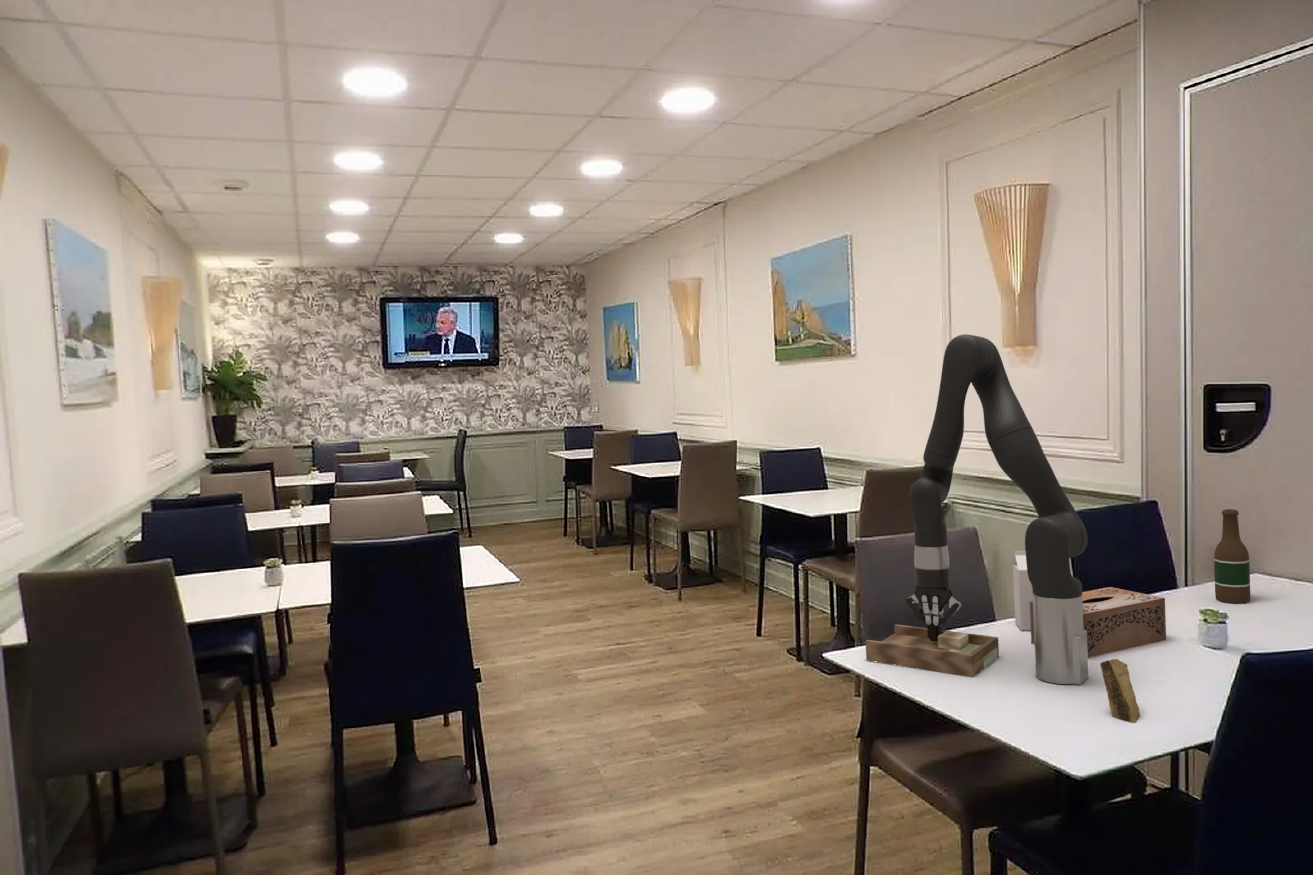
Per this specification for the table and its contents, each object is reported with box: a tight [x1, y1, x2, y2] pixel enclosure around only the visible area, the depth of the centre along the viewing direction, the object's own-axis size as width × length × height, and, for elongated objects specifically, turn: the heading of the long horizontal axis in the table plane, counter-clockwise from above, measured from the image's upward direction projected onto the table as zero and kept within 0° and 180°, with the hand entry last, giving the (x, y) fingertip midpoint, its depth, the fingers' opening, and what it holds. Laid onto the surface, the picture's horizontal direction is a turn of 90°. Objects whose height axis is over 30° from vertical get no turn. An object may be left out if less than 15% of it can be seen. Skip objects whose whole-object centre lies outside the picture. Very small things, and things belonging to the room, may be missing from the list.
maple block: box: [938, 630, 969, 650], centre depth 197 cm, size 5×5×2 cm
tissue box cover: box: [1030, 586, 1167, 659], centre depth 203 cm, size 26×14×10 cm, turn 113°
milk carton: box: [1012, 550, 1033, 631], centre depth 218 cm, size 7×7×19 cm
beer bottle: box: [1213, 508, 1251, 605], centre depth 231 cm, size 8×8×24 cm
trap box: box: [865, 623, 1000, 678], centre depth 197 cm, size 24×16×4 cm, turn 50°
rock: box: [1099, 658, 1141, 724], centre depth 160 cm, size 11×9×10 cm
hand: (934, 640), depth 200 cm, fingers closed
